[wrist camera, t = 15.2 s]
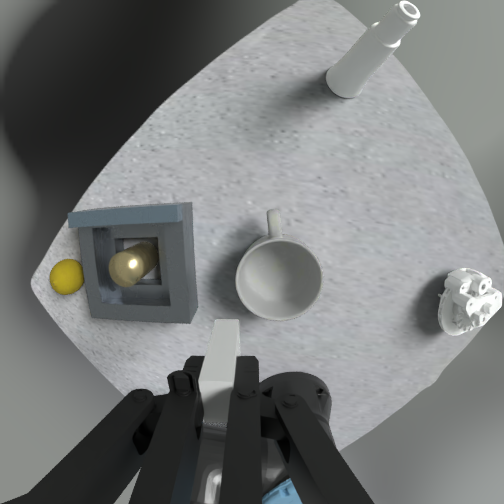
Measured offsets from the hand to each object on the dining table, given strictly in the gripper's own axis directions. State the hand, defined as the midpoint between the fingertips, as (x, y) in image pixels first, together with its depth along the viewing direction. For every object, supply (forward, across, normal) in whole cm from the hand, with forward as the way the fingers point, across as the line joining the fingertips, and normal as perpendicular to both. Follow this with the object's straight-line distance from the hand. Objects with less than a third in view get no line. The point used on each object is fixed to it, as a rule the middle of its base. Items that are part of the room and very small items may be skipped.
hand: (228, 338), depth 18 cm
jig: (+24, +15, 0) cm, 29 cm away
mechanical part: (+25, -38, +8) cm, 46 cm away
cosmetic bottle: (+25, -16, -27) cm, 40 cm away
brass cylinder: (+24, +15, 0) cm, 29 cm away
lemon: (+25, +28, +2) cm, 37 cm away
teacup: (+25, -5, 0) cm, 25 cm away
